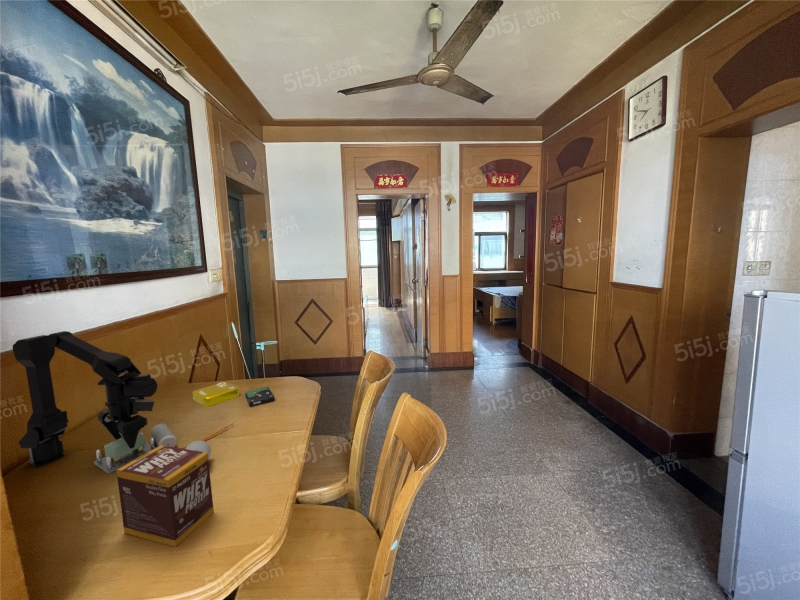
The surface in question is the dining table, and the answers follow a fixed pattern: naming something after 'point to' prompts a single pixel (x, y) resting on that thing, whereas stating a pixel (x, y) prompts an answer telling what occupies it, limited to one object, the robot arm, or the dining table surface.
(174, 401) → the dining table surface
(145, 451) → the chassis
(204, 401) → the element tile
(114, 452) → the green rectangular block
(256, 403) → the disk drive
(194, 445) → the ceramic mug
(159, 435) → the motor
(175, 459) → the supplement box
